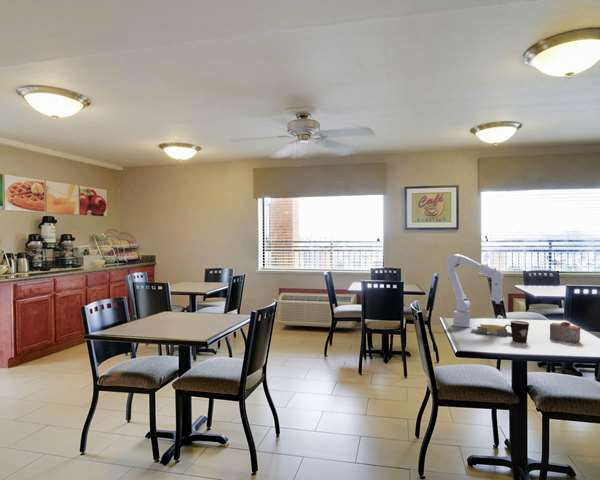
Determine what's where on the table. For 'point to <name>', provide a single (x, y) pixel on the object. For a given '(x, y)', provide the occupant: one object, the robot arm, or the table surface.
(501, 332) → the right chain end
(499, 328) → the tan wooden beam
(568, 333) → the food item
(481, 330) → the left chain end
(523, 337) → the coffee mug
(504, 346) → the table surface
